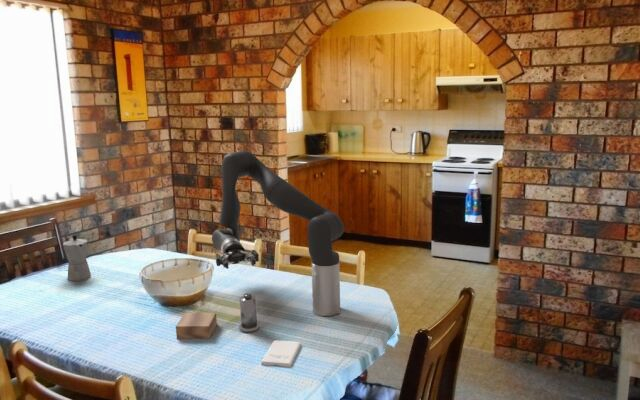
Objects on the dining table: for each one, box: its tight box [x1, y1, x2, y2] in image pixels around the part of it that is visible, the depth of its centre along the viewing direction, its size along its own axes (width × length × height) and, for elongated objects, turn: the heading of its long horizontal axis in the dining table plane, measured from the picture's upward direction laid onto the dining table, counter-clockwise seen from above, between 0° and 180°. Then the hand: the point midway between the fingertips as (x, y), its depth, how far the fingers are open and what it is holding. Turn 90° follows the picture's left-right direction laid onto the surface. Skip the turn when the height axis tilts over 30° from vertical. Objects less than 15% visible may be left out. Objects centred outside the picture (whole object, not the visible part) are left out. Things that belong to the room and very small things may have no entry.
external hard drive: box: [261, 339, 302, 368], centre depth 149 cm, size 2×8×12 cm
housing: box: [238, 292, 260, 334], centre depth 165 cm, size 6×6×11 cm
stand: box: [175, 312, 218, 340], centre depth 164 cm, size 10×10×4 cm
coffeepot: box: [62, 234, 92, 282], centre depth 215 cm, size 15×9×18 cm, turn 44°
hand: (240, 264), depth 173 cm, fingers open, 8 cm apart
